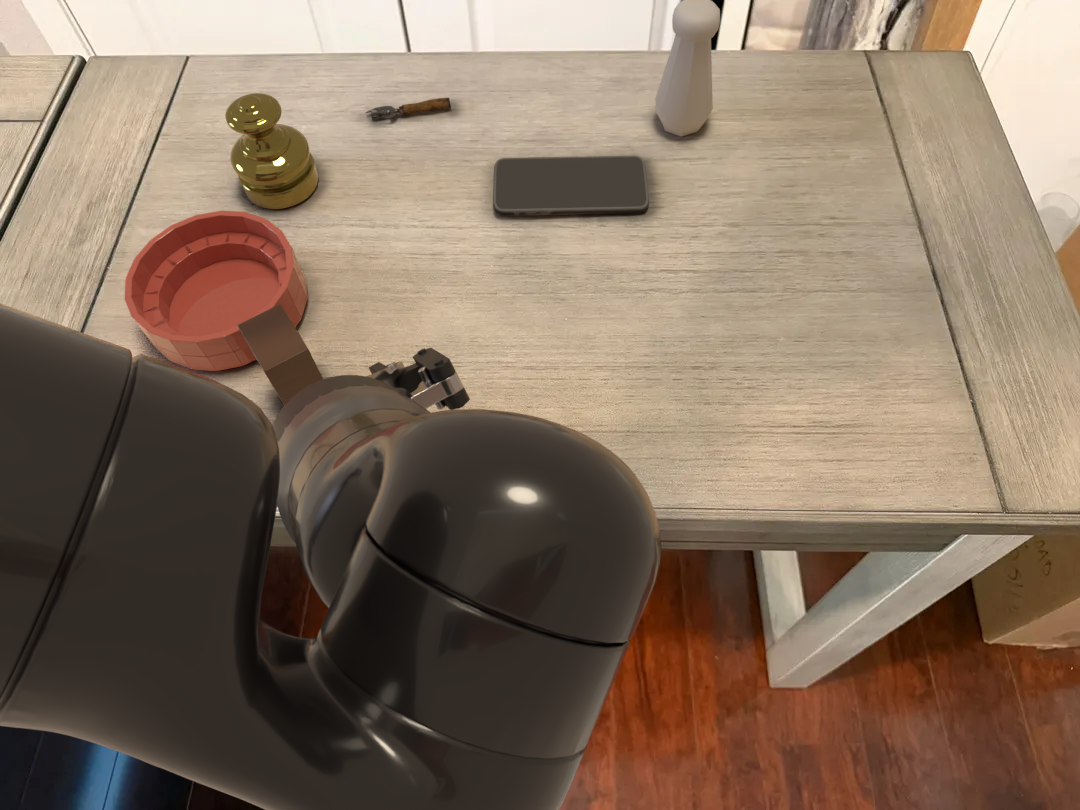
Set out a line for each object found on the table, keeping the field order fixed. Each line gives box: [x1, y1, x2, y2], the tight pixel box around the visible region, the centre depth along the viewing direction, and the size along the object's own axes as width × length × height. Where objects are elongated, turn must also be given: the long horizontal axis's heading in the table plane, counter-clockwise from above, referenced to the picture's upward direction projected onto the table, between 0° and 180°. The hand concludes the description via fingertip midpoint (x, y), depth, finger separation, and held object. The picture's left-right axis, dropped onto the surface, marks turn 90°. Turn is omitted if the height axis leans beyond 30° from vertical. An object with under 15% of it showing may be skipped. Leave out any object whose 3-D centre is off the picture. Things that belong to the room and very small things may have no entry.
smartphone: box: [492, 155, 650, 217], centre depth 79 cm, size 7×1×15 cm
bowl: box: [124, 210, 308, 372], centre depth 72 cm, size 14×14×5 cm
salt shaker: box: [654, 0, 721, 137], centre depth 78 cm, size 6×6×13 cm
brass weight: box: [224, 92, 319, 210], centre depth 77 cm, size 7×7×10 cm
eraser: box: [237, 304, 324, 407], centre depth 64 cm, size 5×4×10 cm
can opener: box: [365, 97, 452, 121], centre depth 85 cm, size 9×2×1 cm, turn 94°
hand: (318, 412), depth 50 cm, fingers open, 8 cm apart
